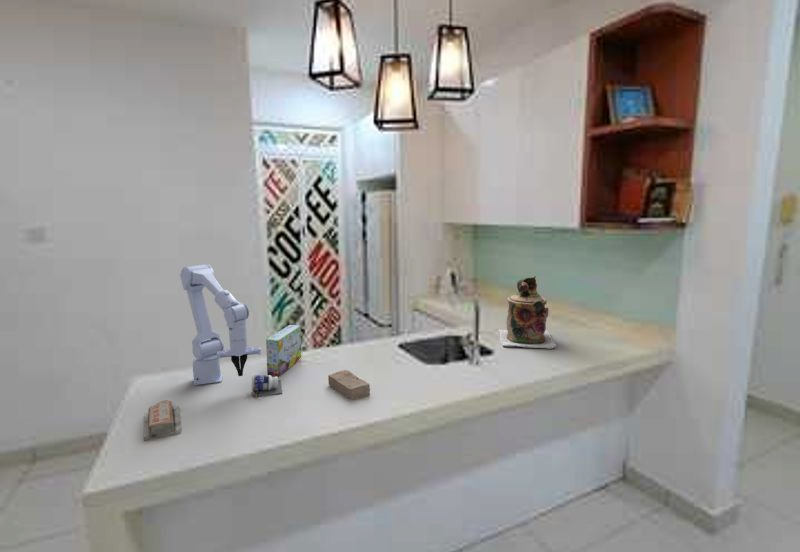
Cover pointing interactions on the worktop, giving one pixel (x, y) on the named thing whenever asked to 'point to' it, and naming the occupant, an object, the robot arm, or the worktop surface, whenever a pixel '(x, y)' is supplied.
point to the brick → (349, 384)
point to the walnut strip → (255, 393)
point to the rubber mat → (271, 390)
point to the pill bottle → (264, 382)
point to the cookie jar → (526, 318)
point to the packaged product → (162, 421)
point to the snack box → (283, 350)
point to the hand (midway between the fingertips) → (240, 375)
